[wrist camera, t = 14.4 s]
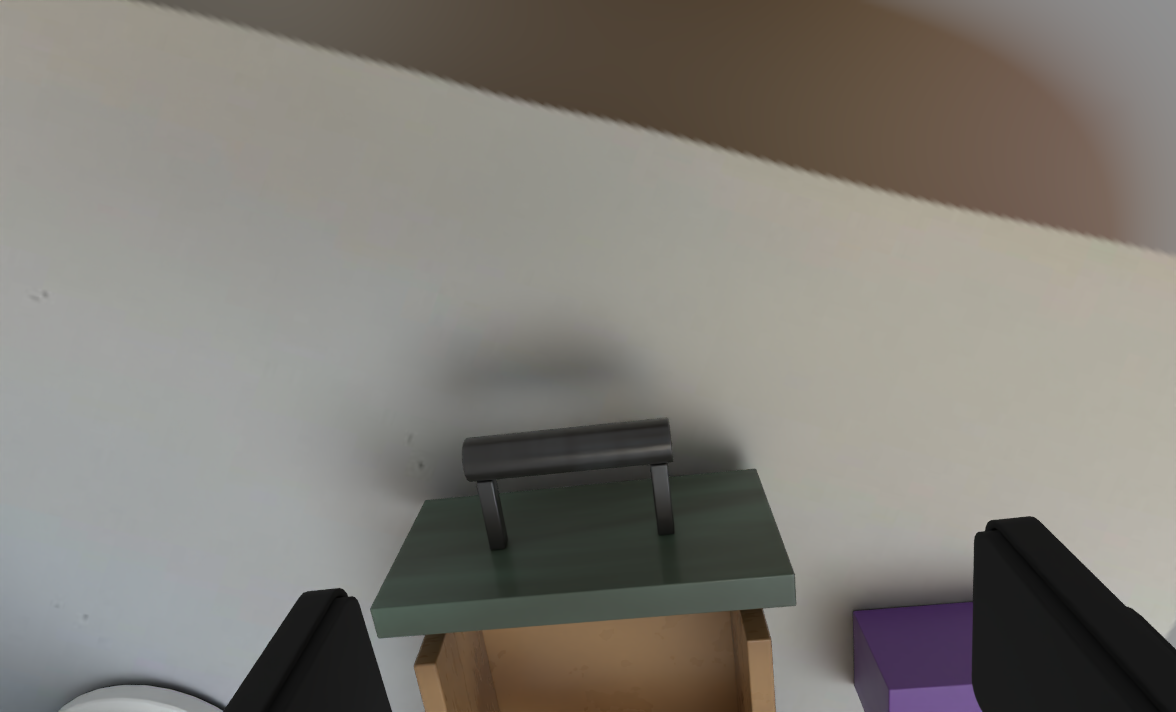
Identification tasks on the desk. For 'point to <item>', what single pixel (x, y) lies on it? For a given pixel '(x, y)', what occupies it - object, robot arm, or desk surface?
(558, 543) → the drawer
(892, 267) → the desk surface
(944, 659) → the purple block
